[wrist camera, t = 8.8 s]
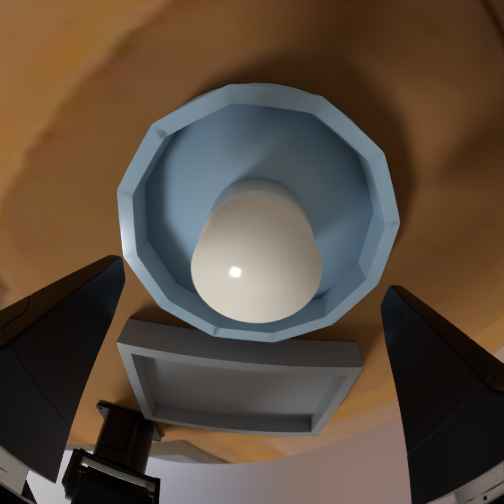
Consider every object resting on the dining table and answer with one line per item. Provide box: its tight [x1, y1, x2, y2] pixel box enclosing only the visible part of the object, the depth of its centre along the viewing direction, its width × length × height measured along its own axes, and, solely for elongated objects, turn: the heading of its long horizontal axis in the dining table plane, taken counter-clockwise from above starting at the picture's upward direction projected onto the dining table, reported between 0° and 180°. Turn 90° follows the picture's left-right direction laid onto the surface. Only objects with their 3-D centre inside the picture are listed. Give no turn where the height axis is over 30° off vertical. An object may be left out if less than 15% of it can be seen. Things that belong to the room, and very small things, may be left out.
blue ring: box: [117, 83, 400, 342], centre depth 13 cm, size 12×12×2 cm
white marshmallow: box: [191, 177, 322, 323], centre depth 11 cm, size 4×4×4 cm
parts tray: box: [117, 318, 363, 436], centre depth 19 cm, size 10×15×2 cm
